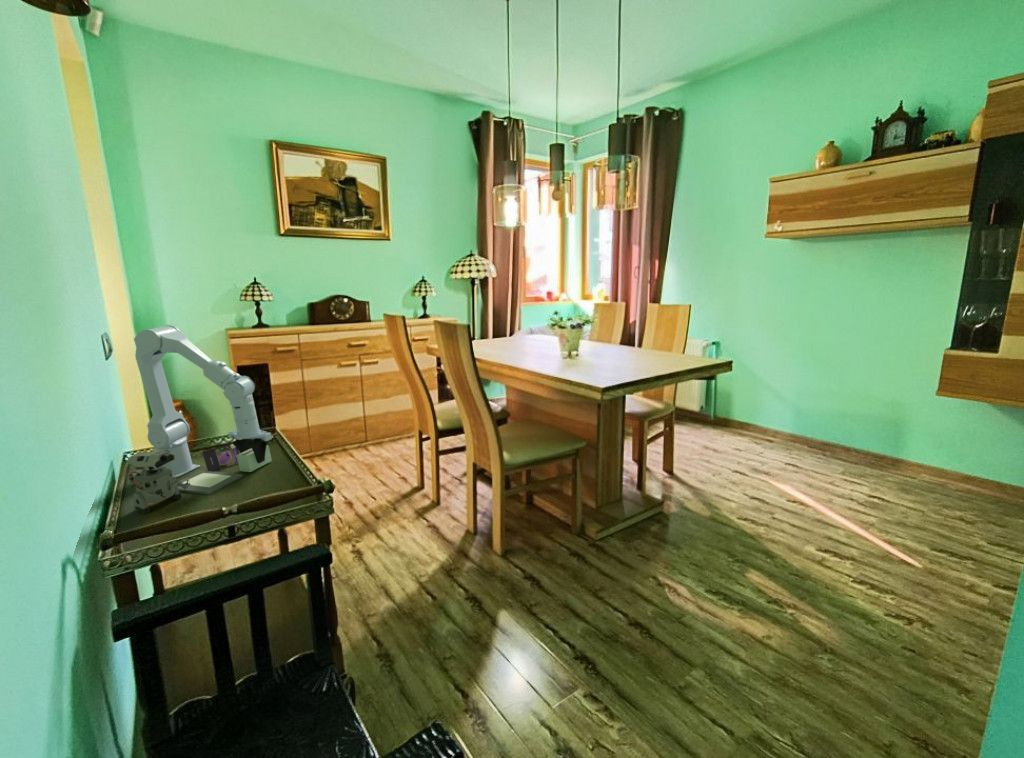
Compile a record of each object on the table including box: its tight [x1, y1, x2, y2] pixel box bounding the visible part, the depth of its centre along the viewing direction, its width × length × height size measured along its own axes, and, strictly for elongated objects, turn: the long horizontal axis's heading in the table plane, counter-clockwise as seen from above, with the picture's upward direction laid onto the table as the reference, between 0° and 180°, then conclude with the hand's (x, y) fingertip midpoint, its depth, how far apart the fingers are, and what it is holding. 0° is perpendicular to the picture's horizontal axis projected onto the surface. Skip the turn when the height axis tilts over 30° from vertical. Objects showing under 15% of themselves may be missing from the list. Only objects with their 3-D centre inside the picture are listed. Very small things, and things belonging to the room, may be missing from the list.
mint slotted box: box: [237, 444, 272, 473], centre depth 142 cm, size 4×8×5 cm, turn 161°
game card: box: [202, 442, 240, 472], centre depth 145 cm, size 7×5×9 cm
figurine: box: [125, 450, 190, 514], centre depth 121 cm, size 9×12×15 cm
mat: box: [176, 469, 244, 496], centre depth 134 cm, size 16×11×1 cm
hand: (255, 461), depth 142 cm, fingers closed on mint slotted box, 4 cm apart
